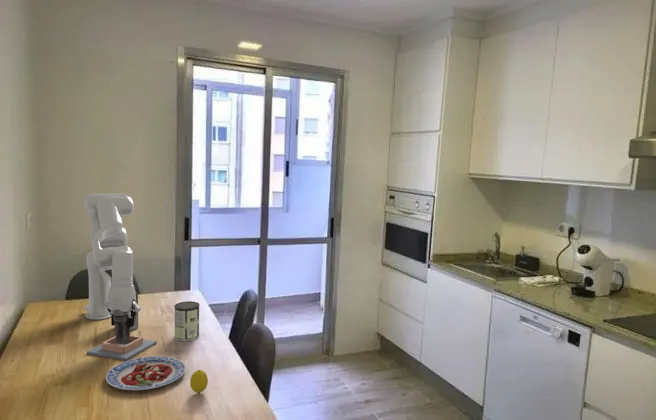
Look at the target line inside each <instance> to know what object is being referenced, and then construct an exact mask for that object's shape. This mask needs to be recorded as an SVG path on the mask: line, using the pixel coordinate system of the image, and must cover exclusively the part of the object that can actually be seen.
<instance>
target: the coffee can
mask: <svg viewBox="0 0 656 420" xmlns="http://www.w3.org/2000/svg"><path fill="white" fill-rule="evenodd" d="M173 308H174V339H175V340H176V341H180V342H188V341H189V342H190V341H195V340H197V339H198V338H200V303H199V302H197V301H192V300H191V301H182V302H178V303H175V304H174V306H173Z"/></svg>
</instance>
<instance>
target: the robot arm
mask: <svg viewBox="0 0 656 420" xmlns="http://www.w3.org/2000/svg"><path fill="white" fill-rule="evenodd" d="M134 205H135V203H134V202H133V199H132V197H130V196H129V195H127V194H126V193H91V194H88V195H86V196H85V197H84V206H85V209H86V212H87V215H88V216H89V217H88V218H89V241H90V245H91V247H92V251H90V252H89V253H88V254H86V258H85V259H86V267H87V273H88V304H86V305H85V306H84V307H83V310H84V311H87V313H86V314H85V319H87V320H93V321H96V320H97V321H98V320H99V321H100V320H106V319H111V323H110V325H111V326H112V327H113V326H115V324H114V319H113V311H114V310H116V309H119V310H120V311H122V312H127V315H128V317H129V318H127V328H131V327H133V326H134V317H135V316H136V314H137V313H138V314H139V312H140V311H141V309H142V308H141V307H140V305H139V303H138V304H137V303H136V293H135V291H136V289H135V288H136V287H135V285H134V268H133V267H134V261H133V260H134V252H133V250H132V249H131V247H129V246H128V233H127V230H126V229H125V228H124V223H123V218H122V217H123V216H131V215H133V213H134V210H135V206H134ZM109 270H111V276H110V274H108V273H107V272H106V271H109ZM134 309H135V311H134ZM130 311H131V313H132V314H131V313H130Z"/></svg>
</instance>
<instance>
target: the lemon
mask: <svg viewBox="0 0 656 420" xmlns="http://www.w3.org/2000/svg"><path fill="white" fill-rule="evenodd" d="M208 382H209V379H208V375H207V372H205V370H202V369H198V370H196V371H193V373H192V374H191V377H190V380H189V383H190V388H191V390H192V391H193V392H194V393H197V394H200V393H202V392H204V391H205V390H206V389H207V387H208Z"/></svg>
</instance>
